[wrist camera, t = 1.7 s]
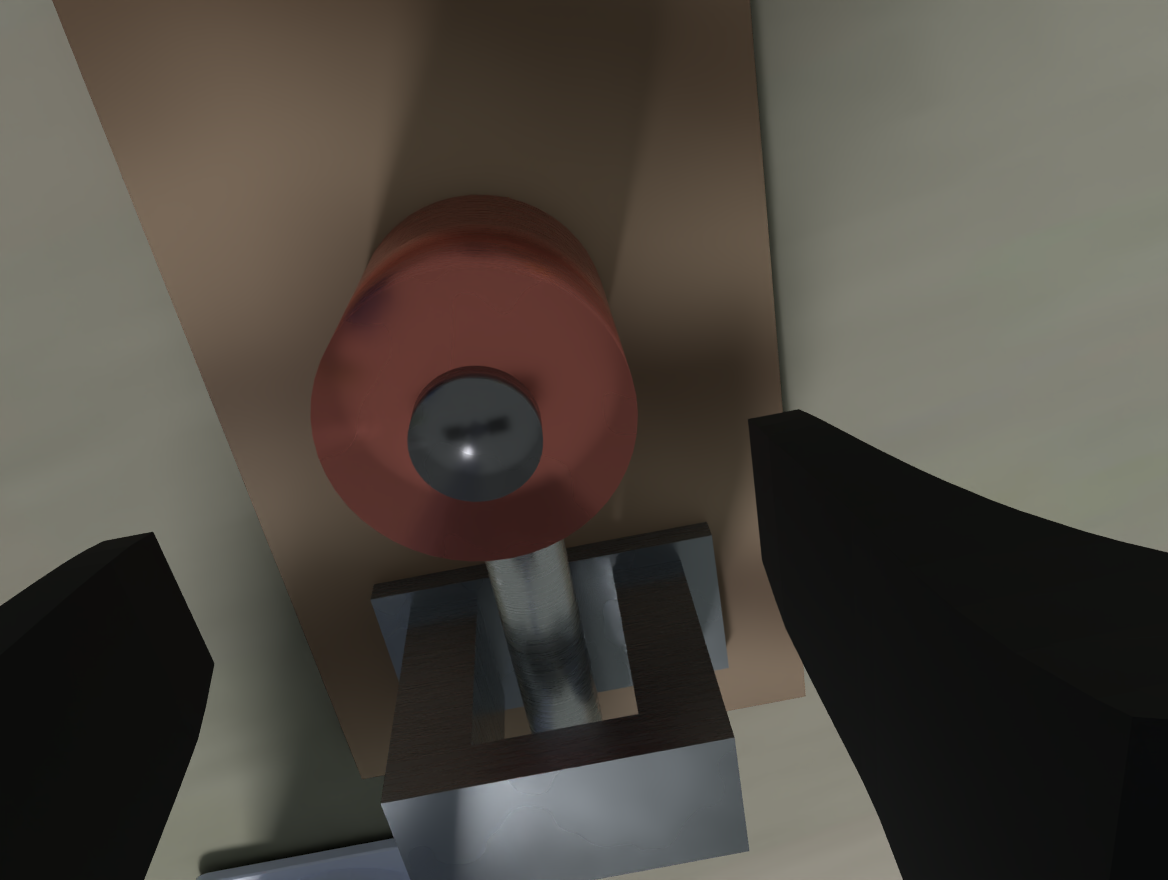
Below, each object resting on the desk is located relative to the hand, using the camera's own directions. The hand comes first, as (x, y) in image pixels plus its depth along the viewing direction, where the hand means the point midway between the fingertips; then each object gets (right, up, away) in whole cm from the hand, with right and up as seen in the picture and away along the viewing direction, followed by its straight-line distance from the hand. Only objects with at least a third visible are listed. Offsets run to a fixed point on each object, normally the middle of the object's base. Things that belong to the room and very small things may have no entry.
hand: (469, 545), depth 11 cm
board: (0, +3, +9) cm, 10 cm away
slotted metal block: (+1, -3, +11) cm, 12 cm away
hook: (0, 0, +10) cm, 10 cm away
